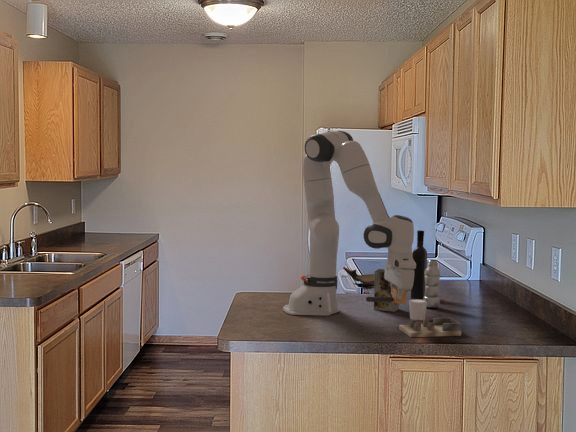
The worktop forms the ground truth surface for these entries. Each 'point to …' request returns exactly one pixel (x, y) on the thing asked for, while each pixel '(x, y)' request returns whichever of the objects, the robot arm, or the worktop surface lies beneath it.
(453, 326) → the board
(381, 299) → the plug
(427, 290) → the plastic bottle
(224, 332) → the worktop surface
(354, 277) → the oil lamp
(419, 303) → the shot glass
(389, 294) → the coffee box
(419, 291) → the wine bottle
